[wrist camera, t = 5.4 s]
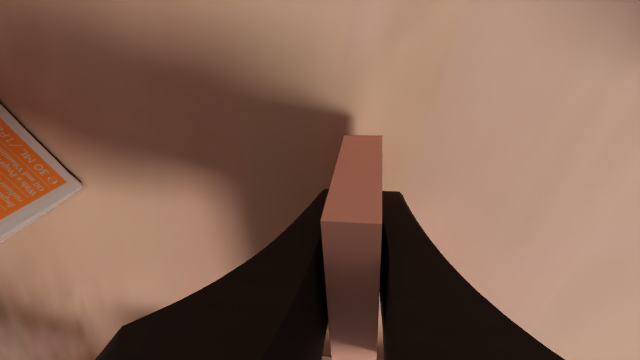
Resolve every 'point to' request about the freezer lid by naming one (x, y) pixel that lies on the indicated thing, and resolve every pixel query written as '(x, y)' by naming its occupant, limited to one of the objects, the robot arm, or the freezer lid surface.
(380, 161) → the tall pink upright slab
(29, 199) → the skincare box
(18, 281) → the freezer lid surface
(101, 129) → the freezer lid surface
